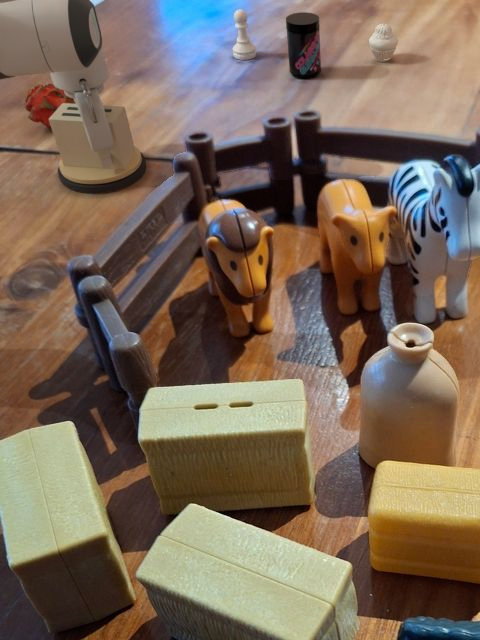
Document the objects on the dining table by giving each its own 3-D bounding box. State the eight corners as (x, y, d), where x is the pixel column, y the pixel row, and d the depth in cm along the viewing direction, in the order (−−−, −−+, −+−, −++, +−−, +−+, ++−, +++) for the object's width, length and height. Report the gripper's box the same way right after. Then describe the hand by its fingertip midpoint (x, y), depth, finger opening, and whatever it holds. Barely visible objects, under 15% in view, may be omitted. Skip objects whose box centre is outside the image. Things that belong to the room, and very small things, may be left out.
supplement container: (288, 80, 151) (284, 25, 143) (290, 66, 155) (286, 12, 147) (321, 79, 151) (319, 24, 143) (321, 66, 155) (319, 11, 147)
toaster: (152, 146, 130) (141, 95, 123) (126, 187, 121) (112, 134, 115) (78, 142, 132) (63, 91, 125) (47, 181, 123) (28, 129, 116)
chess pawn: (239, 49, 161) (234, 4, 154) (260, 52, 160) (255, 7, 153) (229, 58, 158) (223, 12, 151) (250, 61, 157) (245, 15, 150)
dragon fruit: (31, 134, 140) (95, 141, 142) (16, 124, 132) (84, 132, 133) (30, 86, 138) (95, 94, 140) (15, 73, 130) (84, 82, 131)
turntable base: (66, 201, 121) (64, 194, 121) (54, 160, 130) (51, 153, 129) (155, 182, 125) (153, 176, 124) (136, 144, 134) (135, 137, 133)
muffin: (395, 65, 155) (397, 29, 150) (367, 64, 156) (367, 28, 150) (397, 53, 159) (399, 18, 154) (370, 52, 160) (370, 17, 154)
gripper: (109, 90, 109) (132, 177, 120) (88, 42, 121) (111, 125, 132) (66, 98, 108) (94, 185, 118) (50, 48, 120) (76, 131, 130)
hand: (102, 153), depth 125 cm, fingers closed on toaster, 8 cm apart
